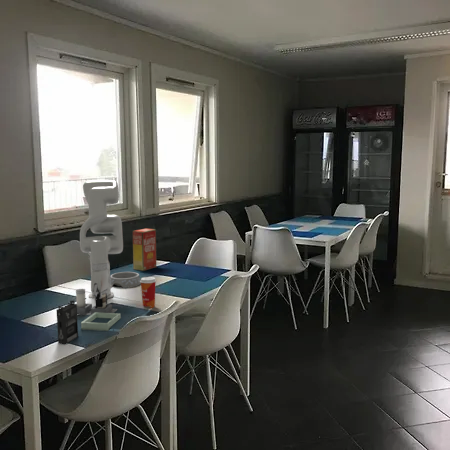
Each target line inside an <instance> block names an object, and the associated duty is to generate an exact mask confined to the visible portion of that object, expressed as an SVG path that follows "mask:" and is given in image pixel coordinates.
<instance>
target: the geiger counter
mask: <svg viewBox="0 0 450 450" xmlns="http://www.w3.org/2000/svg"><path fill="white" fill-rule="evenodd" d="M69 302H70V303H68V304H66V305H64V306H59V305H58V307H57V308H58V309H56V324H57V342H58V343H57V344H58V345H64V346H65V345H68V344H69V343H72V342H73V341H74V340H76V339H78V338H79V326H78V323H79V321H78V314H77V303H75V300H70V301H69Z"/></svg>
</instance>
